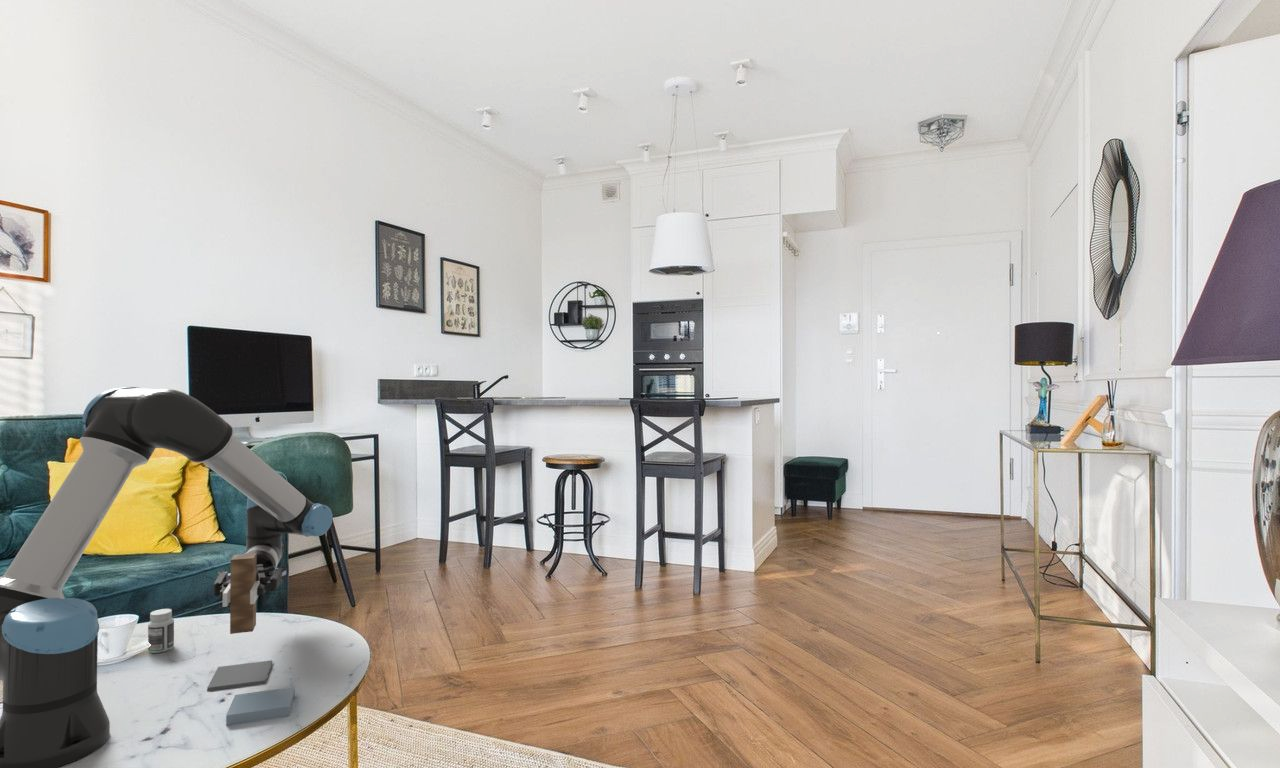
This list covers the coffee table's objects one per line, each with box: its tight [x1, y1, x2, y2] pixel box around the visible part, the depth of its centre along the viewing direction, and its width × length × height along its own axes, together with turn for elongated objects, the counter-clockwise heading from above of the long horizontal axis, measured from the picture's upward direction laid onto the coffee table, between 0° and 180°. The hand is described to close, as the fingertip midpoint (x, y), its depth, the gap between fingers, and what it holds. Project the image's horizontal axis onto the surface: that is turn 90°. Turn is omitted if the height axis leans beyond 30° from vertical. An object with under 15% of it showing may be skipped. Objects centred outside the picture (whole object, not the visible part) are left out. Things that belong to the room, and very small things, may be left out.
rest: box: [206, 659, 273, 692], centre depth 137 cm, size 10×10×1 cm
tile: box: [225, 686, 296, 726], centre depth 124 cm, size 10×2×8 cm
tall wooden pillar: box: [229, 553, 257, 635], centre depth 137 cm, size 4×4×15 cm
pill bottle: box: [147, 608, 175, 654], centre depth 150 cm, size 5×5×8 cm
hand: (238, 598), depth 132 cm, fingers closed on tall wooden pillar, 4 cm apart
